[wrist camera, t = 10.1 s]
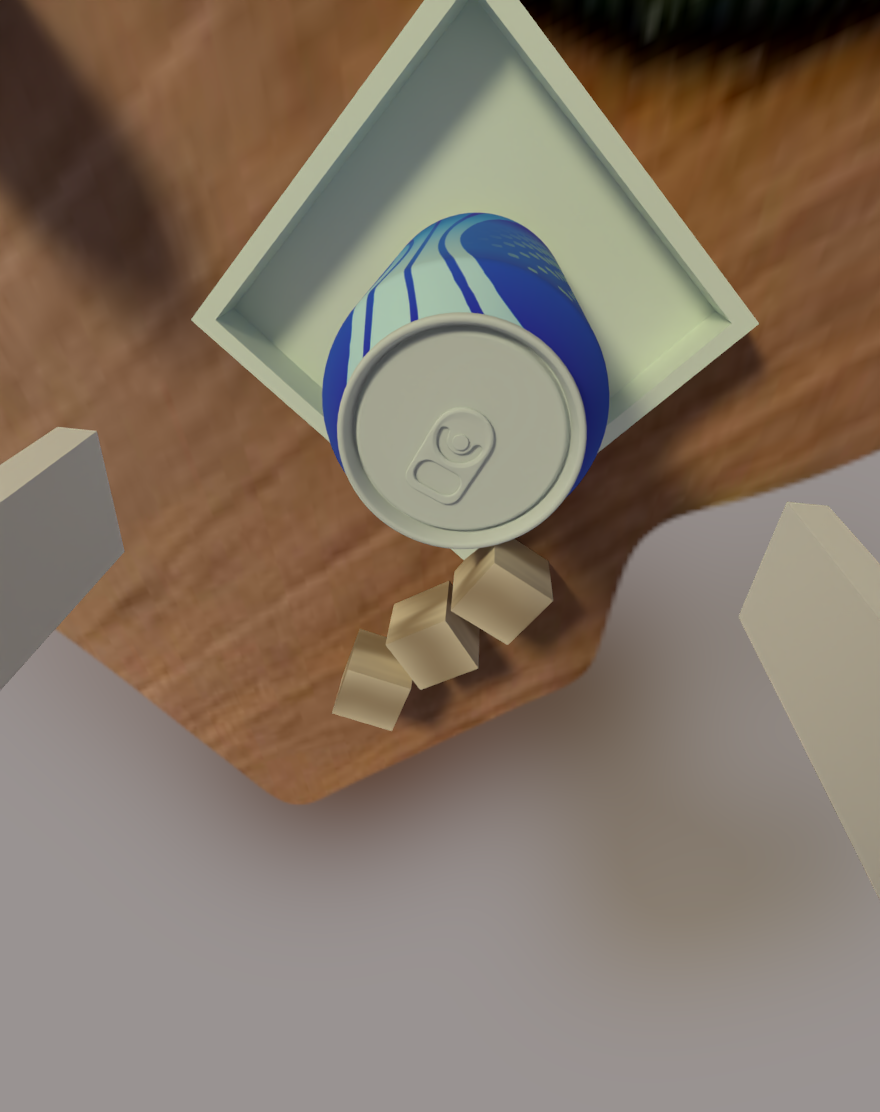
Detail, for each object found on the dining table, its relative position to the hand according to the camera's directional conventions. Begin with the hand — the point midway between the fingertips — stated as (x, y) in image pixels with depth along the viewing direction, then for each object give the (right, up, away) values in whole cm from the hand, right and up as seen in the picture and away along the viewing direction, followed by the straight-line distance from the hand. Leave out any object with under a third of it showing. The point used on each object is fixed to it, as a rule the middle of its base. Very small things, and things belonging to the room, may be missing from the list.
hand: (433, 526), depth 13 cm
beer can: (+2, +11, +18) cm, 21 cm away
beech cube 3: (-4, -7, +31) cm, 32 cm away
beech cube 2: (0, -4, +28) cm, 29 cm away
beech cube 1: (+4, -1, +26) cm, 26 cm away
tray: (+2, +11, +18) cm, 22 cm away
